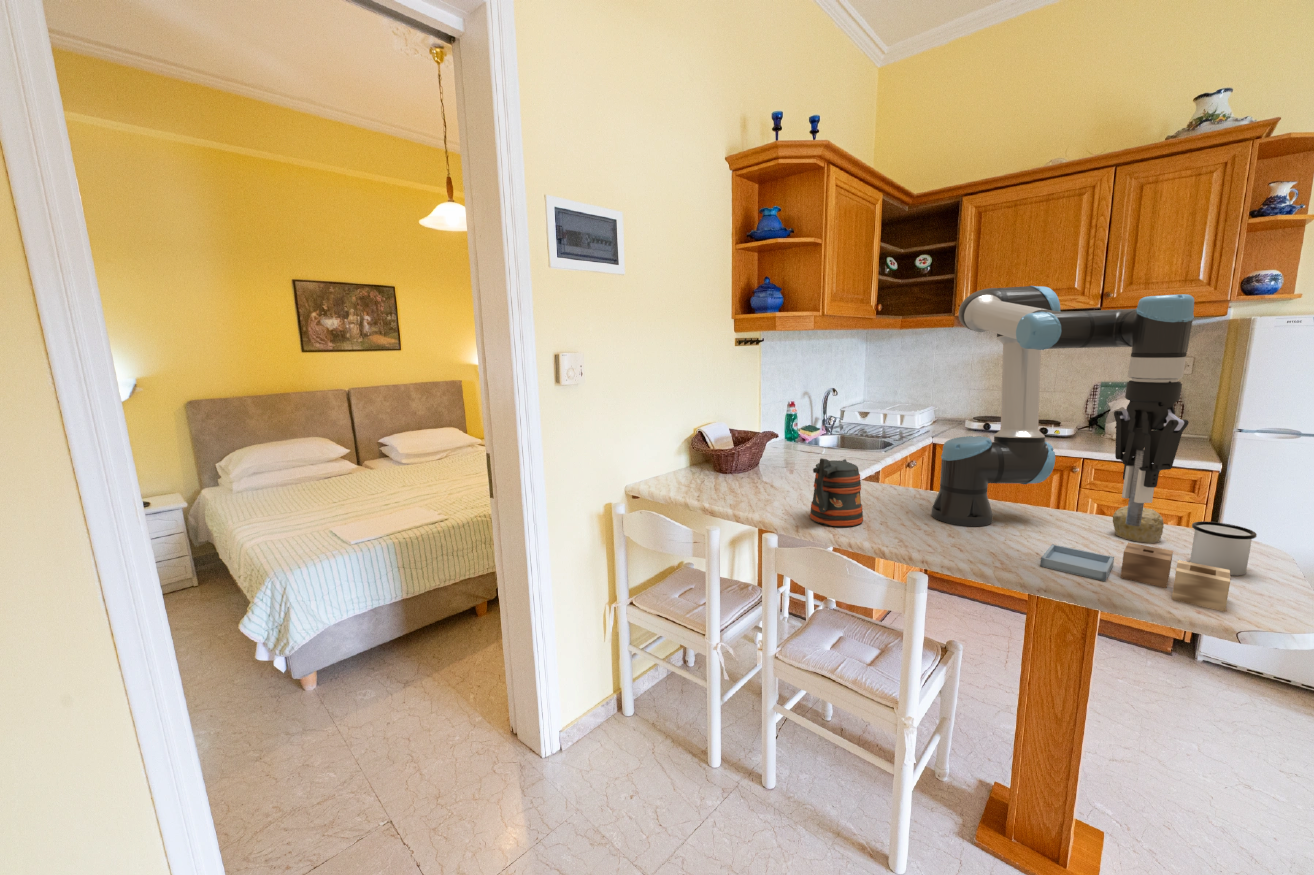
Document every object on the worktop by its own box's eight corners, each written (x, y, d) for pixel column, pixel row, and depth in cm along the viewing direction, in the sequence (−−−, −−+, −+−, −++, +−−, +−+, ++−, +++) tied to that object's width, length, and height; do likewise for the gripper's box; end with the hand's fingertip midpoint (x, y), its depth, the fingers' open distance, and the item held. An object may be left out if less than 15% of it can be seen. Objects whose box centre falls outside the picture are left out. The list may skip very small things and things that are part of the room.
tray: (1040, 566, 116) (1040, 557, 115) (1051, 552, 123) (1052, 544, 123) (1105, 581, 107) (1106, 572, 107) (1113, 565, 115) (1114, 557, 115)
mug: (1257, 581, 106) (1264, 539, 104) (1192, 571, 111) (1198, 531, 109) (1236, 560, 115) (1243, 522, 114) (1178, 552, 121) (1183, 515, 119)
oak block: (1171, 599, 100) (1175, 570, 99) (1173, 587, 104) (1178, 559, 103) (1225, 612, 95) (1230, 581, 94) (1224, 599, 99) (1229, 570, 98)
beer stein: (848, 536, 137) (850, 463, 133) (795, 526, 146) (797, 457, 142) (869, 517, 152) (872, 450, 148) (820, 508, 160) (822, 446, 157)
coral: (1170, 540, 128) (1175, 511, 126) (1144, 545, 125) (1149, 516, 124) (1128, 528, 136) (1131, 501, 135) (1103, 533, 134) (1106, 505, 133)
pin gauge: (1124, 524, 102) (1135, 450, 99) (1126, 521, 103) (1136, 448, 101) (1139, 527, 100) (1151, 452, 98) (1141, 524, 102) (1152, 450, 99)
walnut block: (1120, 578, 109) (1123, 551, 108) (1124, 568, 114) (1128, 542, 113) (1166, 588, 104) (1170, 560, 103) (1169, 577, 109) (1173, 550, 108)
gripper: (1216, 382, 89) (1194, 512, 93) (1139, 376, 104) (1123, 488, 108) (1171, 383, 89) (1151, 513, 94) (1101, 377, 104) (1086, 489, 109)
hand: (1136, 499), depth 101 cm, fingers closed on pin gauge, 2 cm apart
